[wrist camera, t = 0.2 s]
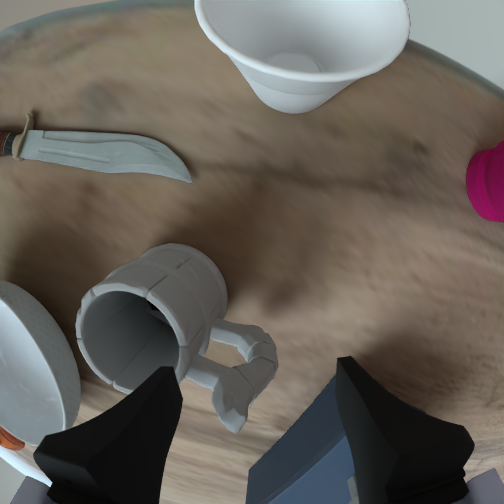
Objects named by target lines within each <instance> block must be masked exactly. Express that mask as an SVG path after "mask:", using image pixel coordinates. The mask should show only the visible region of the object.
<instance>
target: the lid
mask: <svg viewBox="0 0 504 504" xmlns="http://www.w3.org/2000/svg"><path fill="white" fill-rule="evenodd" d="M261 504H359V498H358V490H357V483H356V476H355V470H354V464H353V458H352V454H351V450H350V446H349V443H348V440H347V437H346V434H345V431H344V430H343V431H342V432H341V433H340V434H339V435H338V436H337V437H336V438H335V439H334V440H333V441H332V442H331V443H330V444H329V445H328V446H327V447H326V448H325V449H324V450H323V451H322V452H321V453H320V454H319V455H318V456H317V457H316V458H315V459H314V460H312V461H311V462H310V463H309V464H308V465H307V466H306V467H305V468H304V469H303V470H301V471H300V472H299V473H298V474H297V475H296V476H295V477H293V478H292V479H291V480H290V481H289V482H287V483H286V484H285V485H284V486H283V487H281V488H280V489H279V490H278V491H277V492H275V493H274V494H273V495H271V496H270V497H269V498H268V499H266V500H265V501H264V502H262V503H261Z"/></svg>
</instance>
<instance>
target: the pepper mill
mask: <svg viewBox="0 0 504 504" xmlns="http://www.w3.org/2000/svg"><path fill="white" fill-rule="evenodd" d="M466 184H467V192H468V195H469V199H470V201H471V203H472V205H473V207H474V209H475V210H476V212H477V213H478V214H479V215H480V216H481V217H483V218H484V219H486V220H489V221H497V222H504V140H503V141H501V142H500V143H499V144H498V145H497V146H496V147H495V148H492V149H487V150H483V151H480V152H478V153H477V154H475V155H474V157H473V158H472V159H471V161H470V163H469V166H468V169H467V177H466Z"/></svg>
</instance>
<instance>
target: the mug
mask: <svg viewBox="0 0 504 504" xmlns="http://www.w3.org/2000/svg"><path fill="white" fill-rule="evenodd" d="M147 300H148V301H150V302H151V303H152V304H154V305H155V306H156V307H157V308H158V309H159V310H160V311H161V312H160V311H155V310H152V309H151V307H150V305H149V304H148V302H147ZM227 302H228V296H227V288H226V284H225V281H224V278H223V276H222V274H221V272H220V270H219V269H218V267H217V266H216V265H215V263H214V262H213V261H212V260H211V259H210V258H209V257H207V256H206V255H204V254H203V253H202V252H200V251H199V250H197V249H195V248H192V247H190V246H187V245H182V244H174V243H168V244H164V245H160V246H157V247H154V248H152V249H150V250H148V251H146V252H145V253H143V254H142V255H141V256H140V257H139V258H138V259H136V260H134V261H131V262H128V263H126V264H124V265H121V266H119V267H118V268H116V269H115V270H113V271H112V272H111V273H110V274H109V275H108V276H107V277H106V278H105V279H104V281H102V282H100V283H99V284H97V285H95V286H94V287H93V288H91V289H90V290H89V291H88V292H87V293H86V294H85V296H84V297H83V298H82V306H81V308H80V309H79V310H78V313H77V319H76V325H75V326H76V336H77V337H78V339H77V342H78V345H79V348H80V351H81V353H82V355H83V357H84V358H85V360H86V362H87V363H88V365H89V366H90V367H91V369H92V370H93V371H94V372H95V373H96V374H97V375H98V376H99V377H100V378H101V379H102V380H103V381H105V382H106V383H108V384H112V383H113V382H114V383H113V385H114V388H115V389H116V390H118V391H121V392H123V393H126V394H130V393H131V392H133V391H134V390H135V389H136V388H137V387H138V386H139V385H141V384H142V383H143V382H144V381H145V380H146V379H147V378H148V377H149V376H150V375H151V374H153V373H154V372H155V371H156V370H157V369H158V368H159V367H160V366H173V367H174V371H175V374H176V378H177V381H178V384H179V383H180V382H181V381H182V380H183V378H187V379H189V380H191V381H193V382H195V383H197V384H199V385H201V386H203V387H206V388H209V389H211V390H213V396H212V403H213V406H214V408H215V410H216V412H217V414H218V416H219V419H220V421H221V422H222V423H223V424H224V425H225V426H226V428H227V429H228V430H230V431H231V432H233V433H237V432H239V431H240V429H241V428H242V427H243V425H244V423H245V422H246V420H247V417H248V407H250V406H251V405H252V403H253V402H254V400H255V399H256V398H257V396H258V395H259V394H260V393H261V392H262V391H263V389H265V388H266V386H267V385H268V384H269V383H270V381H271V380H272V379H273V378H274V376H275V373H276V371H277V368H278V359H277V353H276V346H275V343H274V341H273V340H272V338H271V337H270V335H269V334H267V333H264V331H263V330H262V328H260V327H258V326H255V325H242V324H237V323H232V322H228V321H225V320H223V319H224V316H225V313H226V310H227ZM209 339H211V340H214V341H218V342H221V343H225V344H229V345H233V346H236V347H238V351H239V352H240V353H241V354H242V355H243V356H244V357H245V359H246V361H248V363H245V364H241V365H239V366H234V367H232V368H229V367H226V366H223V365H221V364H218V363H216V362H214V361H212V360H210V359H207V358H205V357H203V356H204V354H205V352H206V350H207V348H208V344H209Z"/></svg>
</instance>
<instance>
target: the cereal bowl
mask: <svg viewBox="0 0 504 504" xmlns="http://www.w3.org/2000/svg"><path fill="white" fill-rule="evenodd" d="M80 399H81V387H80V376H79V372H78V367H77V365H76V361H75V358H74V356H73V352H72V349H71V348H70V346H69V343H68V342H67V339H66V338H65V335H64V334H63V332H62V330H61V329H60V327H59V325H58V324H57V322H56V321H55V320H54V318H53V317H52V316H51V315H50V313H49V312H48V311H47V309H45V308H44V307H43V305H42V304H41V303H40V302H39V301H37V300H36V299H35V298H34V297H33V296H32V295H31V294H29V293H28V292H26V291H25V290H24V289H22V288H20V287H18V286H17V285H14V284H13V283H10V282H7V281H2V280H0V426H1V427H3V428H4V429H5V430H6V431H7V432H9V433H10V434H12V435H13V436H15V437H16V438H18V439H20V440H21V441H23V442H25V443H28V444H30V445H33V446H37V447H38V446H39V444H40V443H41V441H42V440H43V438H44V437H45V435H49V434H53V433H57V432H61V431H64V430H67V429H70V428H71V427H72V426H73V424H74V422H75V420H76V417H77V415H78V411H79V407H80Z"/></svg>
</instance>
